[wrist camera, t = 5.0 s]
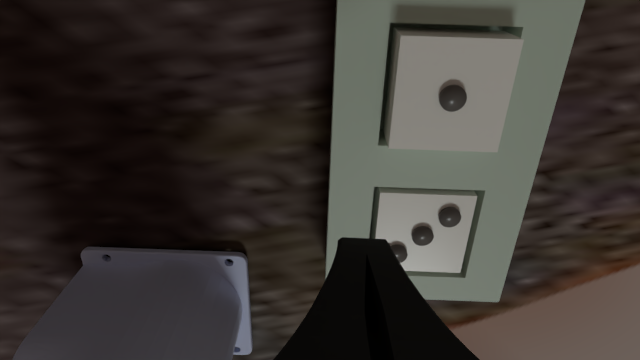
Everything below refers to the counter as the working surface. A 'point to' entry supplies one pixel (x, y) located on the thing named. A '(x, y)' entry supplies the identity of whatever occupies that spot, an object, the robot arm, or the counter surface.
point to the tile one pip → (449, 88)
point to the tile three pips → (424, 226)
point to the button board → (437, 165)
